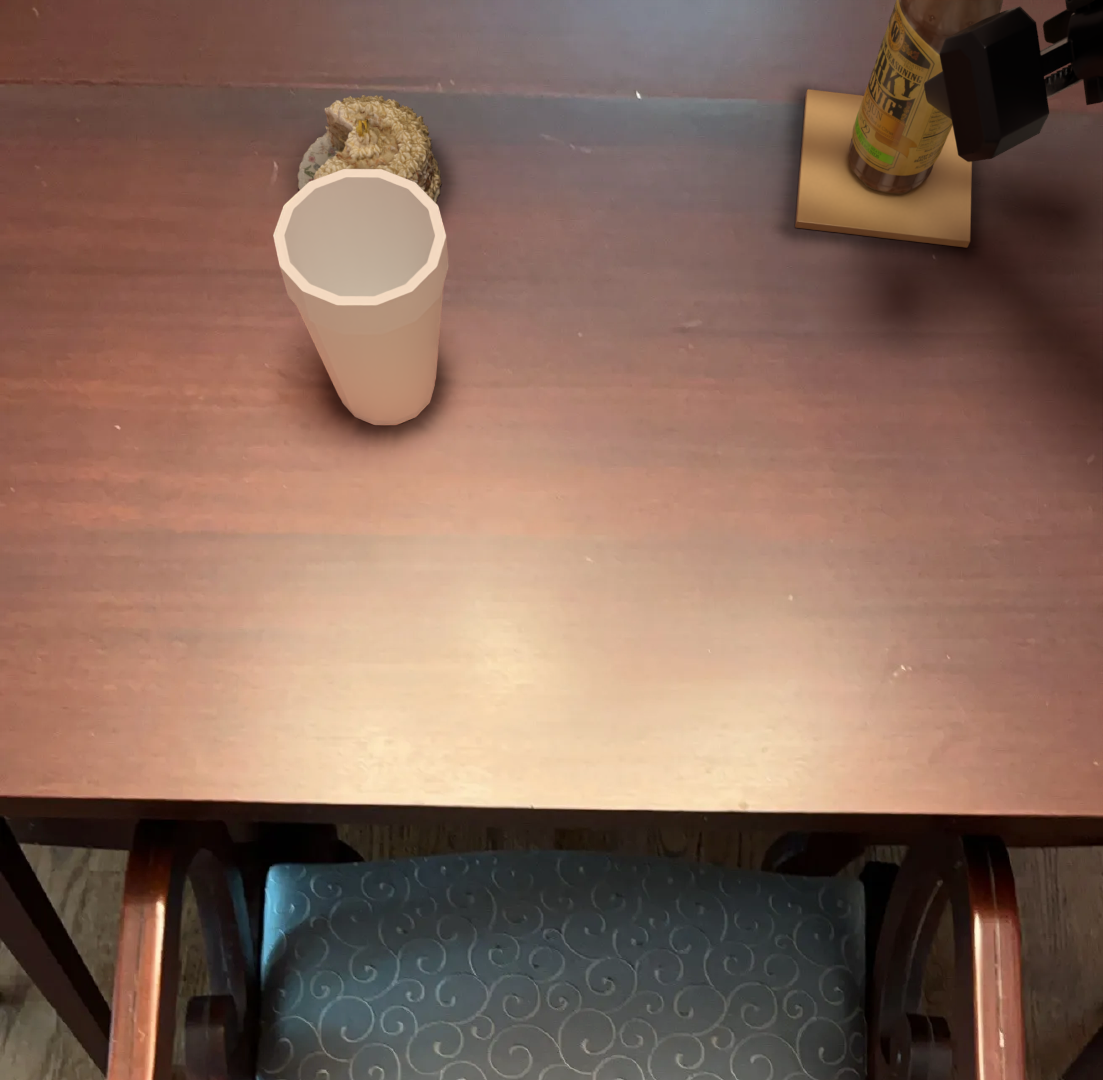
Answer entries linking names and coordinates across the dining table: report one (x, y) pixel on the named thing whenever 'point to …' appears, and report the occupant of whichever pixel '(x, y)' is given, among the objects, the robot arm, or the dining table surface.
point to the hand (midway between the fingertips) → (987, 61)
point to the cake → (373, 143)
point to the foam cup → (368, 286)
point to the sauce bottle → (908, 94)
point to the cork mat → (855, 208)
